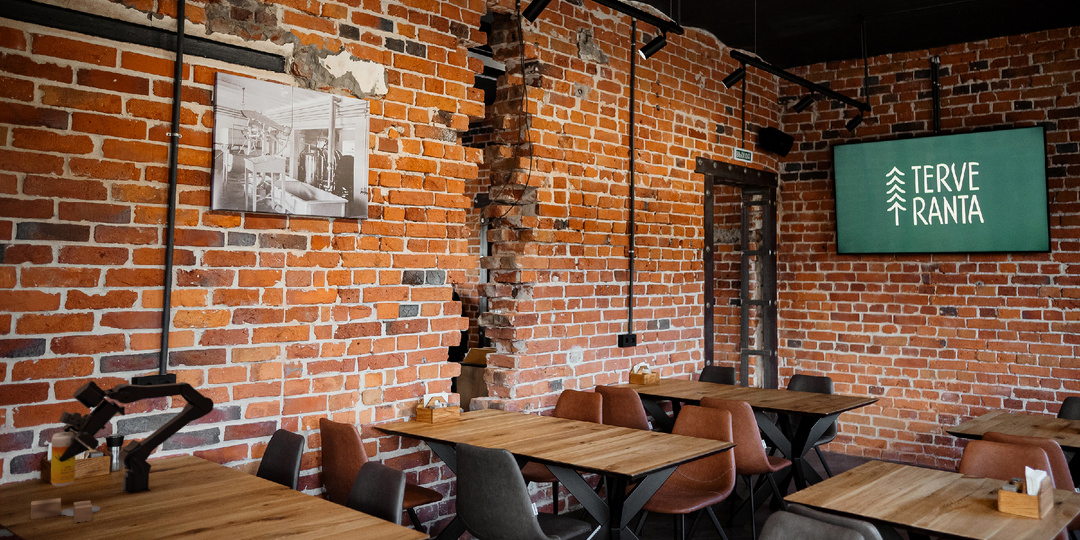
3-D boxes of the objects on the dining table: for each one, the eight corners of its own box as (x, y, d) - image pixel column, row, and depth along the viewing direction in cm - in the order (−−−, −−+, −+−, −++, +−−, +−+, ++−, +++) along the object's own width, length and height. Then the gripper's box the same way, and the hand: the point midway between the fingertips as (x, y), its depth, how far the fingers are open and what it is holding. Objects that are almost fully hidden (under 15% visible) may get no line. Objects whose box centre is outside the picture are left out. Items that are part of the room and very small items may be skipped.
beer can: (63, 487, 226) (64, 436, 226) (45, 485, 227) (46, 435, 228) (79, 481, 232) (80, 432, 232) (62, 480, 233) (63, 431, 233)
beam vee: (64, 503, 228) (65, 490, 229) (122, 508, 225) (123, 494, 225) (22, 518, 214) (22, 504, 214) (83, 523, 210) (84, 509, 210)
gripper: (70, 397, 239) (27, 438, 231) (87, 405, 226) (43, 448, 218) (97, 419, 245) (57, 459, 237) (116, 428, 232) (74, 471, 224)
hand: (57, 459), depth 229 cm, fingers closed on beer can, 6 cm apart
